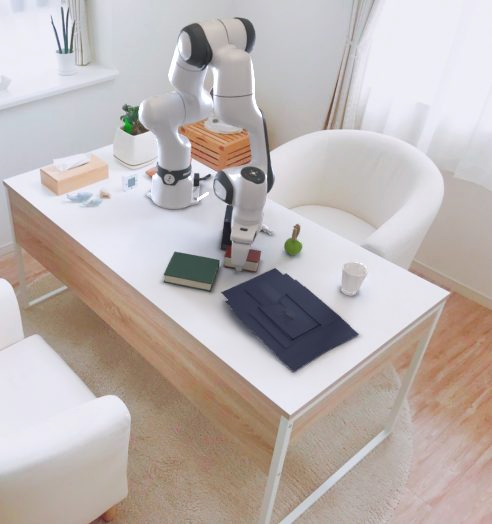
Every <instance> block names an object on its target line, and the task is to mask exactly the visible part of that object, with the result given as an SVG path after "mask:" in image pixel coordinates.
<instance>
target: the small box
mask: <svg viewBox="0 0 492 524" xmlns="http://www.w3.org/2000/svg"><path fill="white" fill-rule="evenodd" d="M232 212H233V206H232V205H229V204H226V207H225V212H224V217H223V222H222V223H223V224H222V231H221V232H222V233H221V234H222V235H221V240H220V247H219V248H220V250H225V251H226V250H227V247H228V245H230V246H232V241H231V240H230V237H231V220H232Z"/></svg>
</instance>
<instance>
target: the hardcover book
mask: <svg viewBox="0 0 492 524" xmlns="http://www.w3.org/2000/svg"><path fill="white" fill-rule="evenodd" d="M220 263H221V260H220V259H218V258H212V257H207V256H201V255H196V254H190V253H186V252H181V251H174V252H173V254H172V256H171V257H170V260H169V262H168V264H167V266H166V268H165V270H164V272H163V276H164V279H163V284H164V283H165V284H170V285H173V286H179V287H183V288H189V289H193V290H199V291H204V292H209V293H211V292H212V291H213V290H212V289H213V286H214V284H215V281H216V277H217V275H218V272H219V270H220Z"/></svg>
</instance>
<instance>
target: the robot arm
mask: <svg viewBox="0 0 492 524" xmlns="http://www.w3.org/2000/svg"><path fill="white" fill-rule="evenodd" d="M256 40H257V35H256V29H255V27H254V24H253V23H252V22H251V21H250V20H249V19H248V18H245V17H237V16H236V17H235V16H234V17H232V18H231V17H229V18H228V17H225V18H224V17H223V18H221V17H220V18H213V19H211V20H210V19H209V20H206V21H193V22H190V23H188V24H187V25H186V26H184V27H182V28H181V29H180V31H179V34H178V37H177V43H176V46H175V48H174V52H173V56H172V59H171V63H170V66H169V69H168V75H167V76H168V80H169V83H170V85H171V86H172V87H173V88H174V89H175V90H174V91H171V92H164V93H158V94H155V95H152V96H149V97H148V98H145V99H143V100H142V101H141V103H140V104H139V107H138V119H139V122H140V123H141V125H142V126H143V127H144V129H146V130H148V131H149V132H151V133H152V134H153V135H154V138H155V139H156V143H157V161H156V167H155V168H156V169H155V172H156V173H154V175H152V178H151V188H150V190H149V191H148V192H147V193H146V196H147V198H149V199H151V201H152V202H153V203H154V204H155V205H156V206H158V207H160V208H163V209H167V210H181V209H186V208H187V207H189V206H195V205H198V204H199V202H200V200H201V199H203V198H205V197H206V196H208V195H209V192H208V191H207V192H205V193H204V194H203V195H201V196H200V187H201V185H200V182H202V181H206V180H207V179H209V178H210V177H212V174H211V173H208V174H207V175H205V176H204V177H200V173H199V172H194V171H193V169H192V168H193V166H192V160H193V157H192V156H191V155H192V143H191V141H190V139H189V138H188V136H186V135H185V134H181V133H180V132H179V129H180V127H181V126H187V125H191V124H196V123H199V122H201V121H203V120H205V119H207V118H209V117H210V116H211V115H212V114H213V111H214V114H215V116H216V117H217V118H218V119H219V121H221V122H222V123H223V124H225V125H227V126H231V127H233V128H238V129H242V130H244V131H245V132H246V133H247V135H248V140H249V142H248V143H249V147H250V155H251V159H250V161H249V162H248V163H245V164H241V165H237V166H231V167H227V168H223V169H219V170H218V171H217V173H216V174H215V176H214V179H213V184H212V186H213V187H212V188H213V193H214V196H216V198H217V199H219V200H220V201H222V202H223V203H225V204H226V205H232V206H233V212H232V220H231V237H230V240H231V241H232V253H231V262H232V265H234V266H236V269H235V271H236V272H242V271H243V270H242V267H244V265H245V262H246V259H247V256H248V252H249V249H251V246H252V245H253V244H254V242H255V239H256V237H257V236H258V235H259V233H260V232H261V229H262V223H264V222H263V221H264V214H265V213H264V207H265V206H266V202H267V195H269V193H270V192H271V190H272V188H273V187H274V184H275V182H276V181H275V180H276V176H275V172H274V168H273V165H272V160H271V151H270V150H271V149H270V143H269V134H268V125H267V121H266V116H265V114H264V111H263V110H262V109H261V108H259V107H258V105H257V101H256V98H255V96H256V95H255V94H256V93H255V88H256V87H255V86H256V85H255V71H254V64H253V59H252V57H251V53H252V51H253V50H254V48H255V45H256ZM209 69H210V71H211V72H212V76H213V77H212V78H213V83H212V84H213V89H212V95H211V93H210V92H209V91H208V90H207V89H206V88H205V81H206V76H207V73H208V70H209Z"/></svg>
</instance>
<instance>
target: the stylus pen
mask: <svg viewBox="0 0 492 524" xmlns="http://www.w3.org/2000/svg"><path fill="white" fill-rule="evenodd" d="M261 231H262V232H264V233H267V234H268V235H269V236H272V234H273V233H274V230H272V229H271V228H270V227H269V226H267V224H266V223H264V222H262V229H261ZM261 231H260V232H261Z"/></svg>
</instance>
